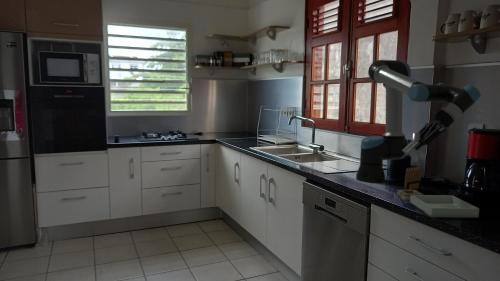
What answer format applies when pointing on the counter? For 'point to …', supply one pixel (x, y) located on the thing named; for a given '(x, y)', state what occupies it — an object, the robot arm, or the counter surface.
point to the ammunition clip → (413, 179)
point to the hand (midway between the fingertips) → (406, 153)
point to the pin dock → (407, 193)
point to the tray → (444, 206)
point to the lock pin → (416, 157)
